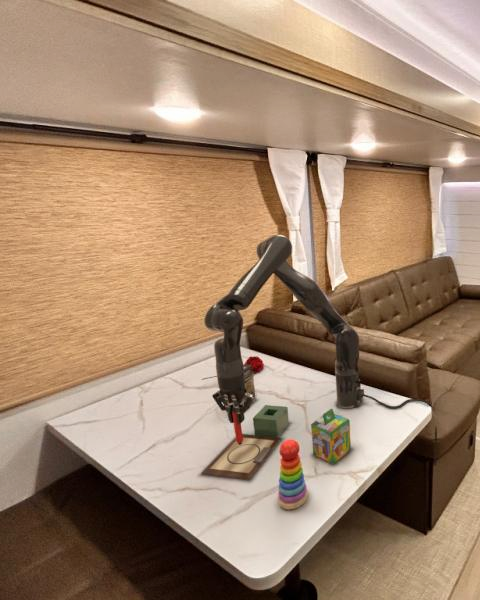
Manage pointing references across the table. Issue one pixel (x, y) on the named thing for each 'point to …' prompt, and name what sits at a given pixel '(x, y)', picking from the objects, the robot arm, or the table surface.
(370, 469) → the table surface
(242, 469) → the clipboard
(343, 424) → the chalk box
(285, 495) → the stacking toy
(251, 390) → the coffee box
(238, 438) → the marker
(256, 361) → the flower
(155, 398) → the table surface
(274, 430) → the pen holder
